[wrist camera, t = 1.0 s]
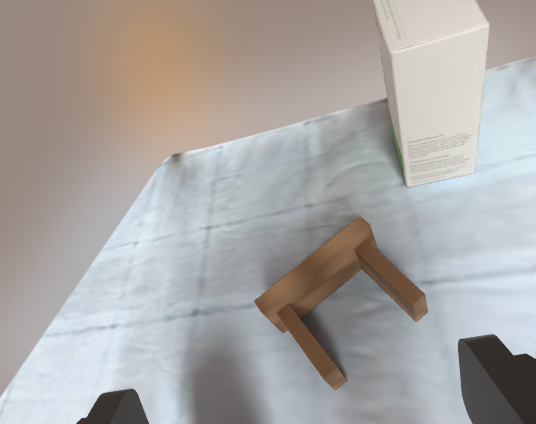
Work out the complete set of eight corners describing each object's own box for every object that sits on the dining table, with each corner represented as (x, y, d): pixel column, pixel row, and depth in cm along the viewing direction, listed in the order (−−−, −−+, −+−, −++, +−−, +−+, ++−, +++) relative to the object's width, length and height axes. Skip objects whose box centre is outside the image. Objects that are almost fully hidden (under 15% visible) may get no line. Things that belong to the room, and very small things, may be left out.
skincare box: (392, 132, 43) (367, -8, 31) (457, 115, 41) (456, -41, 29) (407, 192, 38) (384, 52, 26) (482, 176, 36) (493, 17, 24)
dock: (370, 246, 36) (360, 216, 32) (435, 305, 31) (432, 278, 27) (275, 323, 35) (254, 301, 31) (327, 397, 30) (308, 381, 26)
